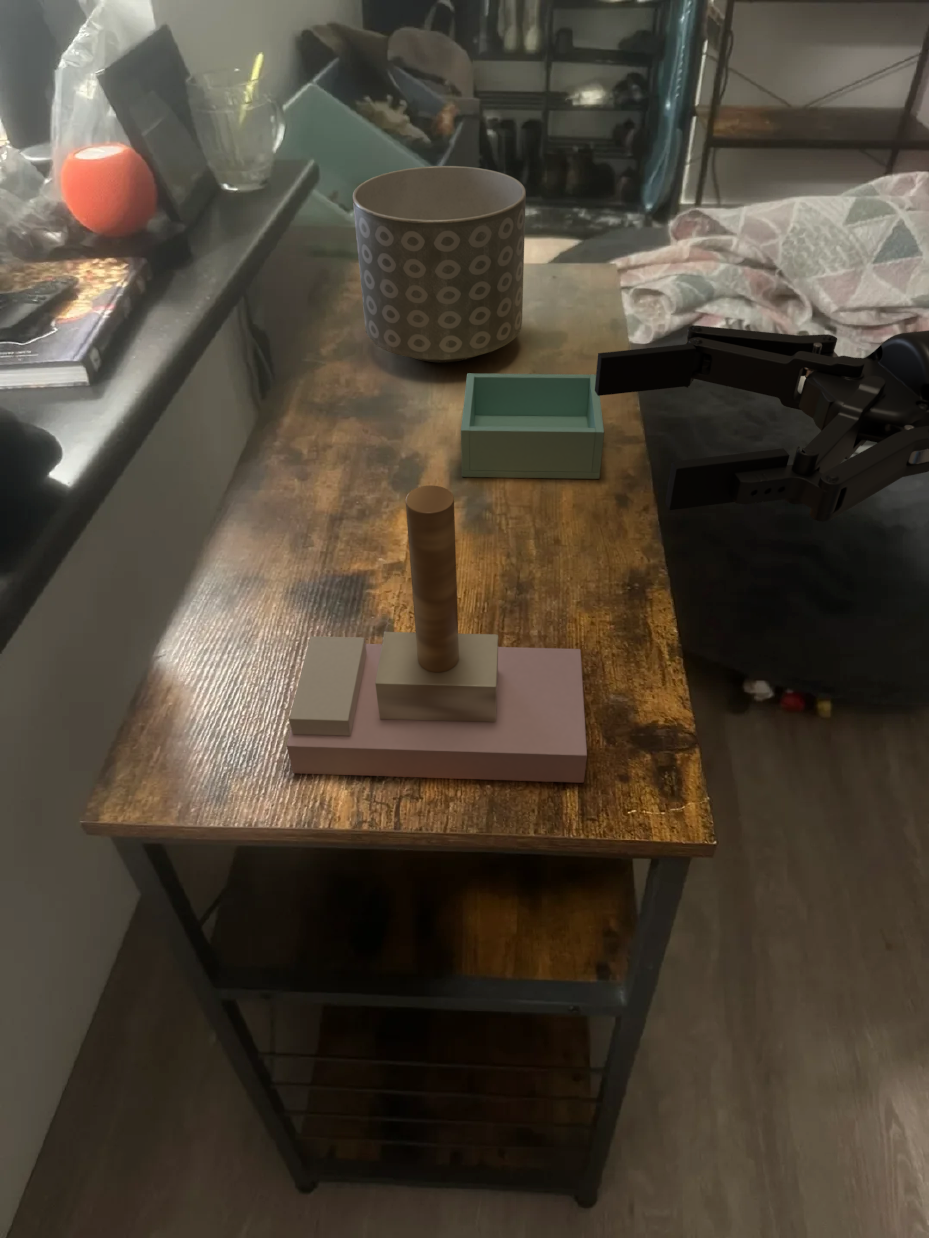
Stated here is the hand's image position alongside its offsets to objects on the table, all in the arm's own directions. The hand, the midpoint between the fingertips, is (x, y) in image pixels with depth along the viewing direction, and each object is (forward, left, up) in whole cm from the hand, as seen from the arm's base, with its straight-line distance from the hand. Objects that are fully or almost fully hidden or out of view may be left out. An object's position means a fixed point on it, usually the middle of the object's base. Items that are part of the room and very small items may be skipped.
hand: (630, 425), depth 53 cm
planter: (+42, -38, -21) cm, 61 cm away
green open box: (+21, -24, -21) cm, 38 cm away
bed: (+7, +11, -21) cm, 25 cm away
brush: (+7, +11, -18) cm, 22 cm away
